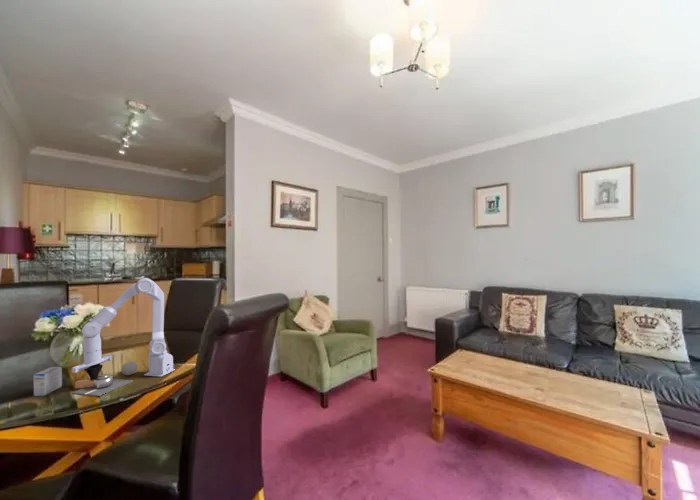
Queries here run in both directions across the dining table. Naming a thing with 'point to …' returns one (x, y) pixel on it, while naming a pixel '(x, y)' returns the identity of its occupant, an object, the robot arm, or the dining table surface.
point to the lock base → (99, 391)
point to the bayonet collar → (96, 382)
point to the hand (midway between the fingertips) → (93, 383)
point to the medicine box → (47, 381)
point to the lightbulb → (129, 368)
